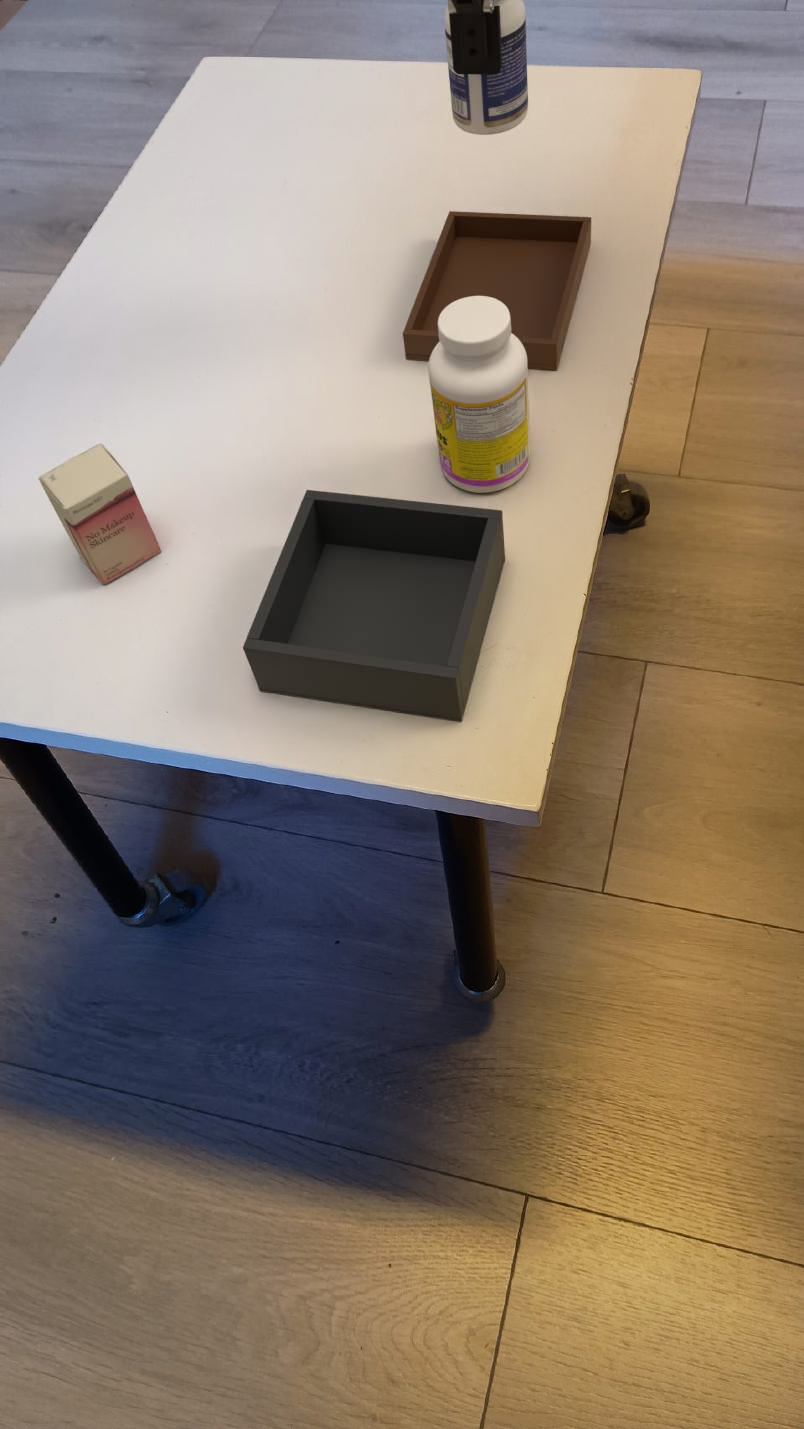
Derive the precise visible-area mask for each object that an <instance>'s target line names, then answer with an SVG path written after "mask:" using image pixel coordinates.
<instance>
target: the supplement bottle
mask: <svg viewBox="0 0 804 1429" xmlns="http://www.w3.org/2000/svg"><path fill="white" fill-rule="evenodd" d="M438 332H439V340H440V342H439V343H438V344H437V345H436V346H435V348H434V349H433V351H432V353H431V356H430V359H429V361H428V366H427V368H428V369H427V370H428V379H429V387H430V394H431V402H432V409H433V420H434V426H435V434H436V435H435V436H436V444H437V450H438V459H439V463H440V467H441V471H442V473H443V475H444V476H445V477H446V479H447V480H448V481H449V482H450V483H452V484H453V485H454V486H455V487H457V488H459V489H461V490H464V491H467V492H471V493H480V494H482V493H492V492H493V493H494V492H497V491H501V490H503V489H507V488H509V487H510V486H512V485H514V484H515V483H516V482H518V480H520V479H521V478H522V477H523V475H524V474H525V473H526V471H527V469H528V467H529V465H530V462H531V428H530V427H531V426H530V407H529V406H530V401H529V400H530V399H529V375H528V374H529V373H528V372H529V368H528V366H527V354H526V351H525V348H524V346H523V345H522V343H521V342H520V340H519V339H518V338H517V337H516V336H515V335H514V334H512V333H511V319H510V312H509V310H508V308H507V307H506V306H505V305H504V304H503V303H502V302H501V301H499V300H497V299H495V298H492V297H487V296H470V297H465V298H462V299H459V300H456V301H454V302H452V303H451V304H449V305H448V306H447V307H446V308H445V309H444V310H443V311H442V312H441V314H440V316H439V318H438Z"/></svg>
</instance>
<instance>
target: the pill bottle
mask: <svg viewBox="0 0 804 1429" xmlns="http://www.w3.org/2000/svg"><path fill="white" fill-rule="evenodd" d="M494 6H500V24H501V48H502V68H501V70H500V72H499V73H498V74H496V75H479V74H457V73H455V71H454V69H453V59H452V46H451V33H450V20H449V10H448V6H447V7H446V9H445V12H444V33H445V35H444V36H445V45H446V58H447V69H448V79H449V92H450V101H451V102H450V103H451V113H452V119H453V122H454V124H455V125H456V126H457V127H458V129H460V130H461V131H463V132H465V133H467V134H472V135H477V136H478V135H479V136H488V135H489V136H490V135H497V134H502V133H505V132H508V131H510V130H512V129H514V128H516V127H518V126H519V125H520V124H522V122H523V121H524V120H525V118H526V116H527V114H528V111H529V90H528V89H529V88H528V85H529V84H528V58H527V20H526V7H525V3H524V0H494Z"/></svg>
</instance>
